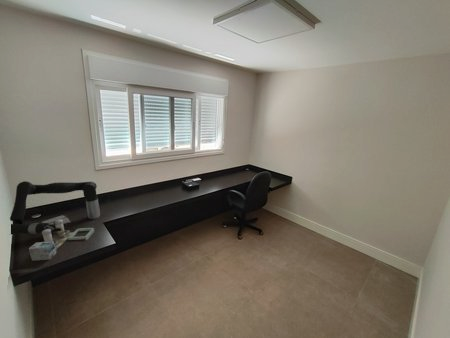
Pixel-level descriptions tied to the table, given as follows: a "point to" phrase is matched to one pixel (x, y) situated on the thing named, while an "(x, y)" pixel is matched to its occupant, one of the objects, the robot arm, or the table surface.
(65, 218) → the gadget
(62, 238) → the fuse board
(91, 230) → the tray
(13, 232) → the robot arm
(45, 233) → the fuse
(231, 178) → the table surface
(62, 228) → the fuse marked
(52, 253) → the light bulb box
